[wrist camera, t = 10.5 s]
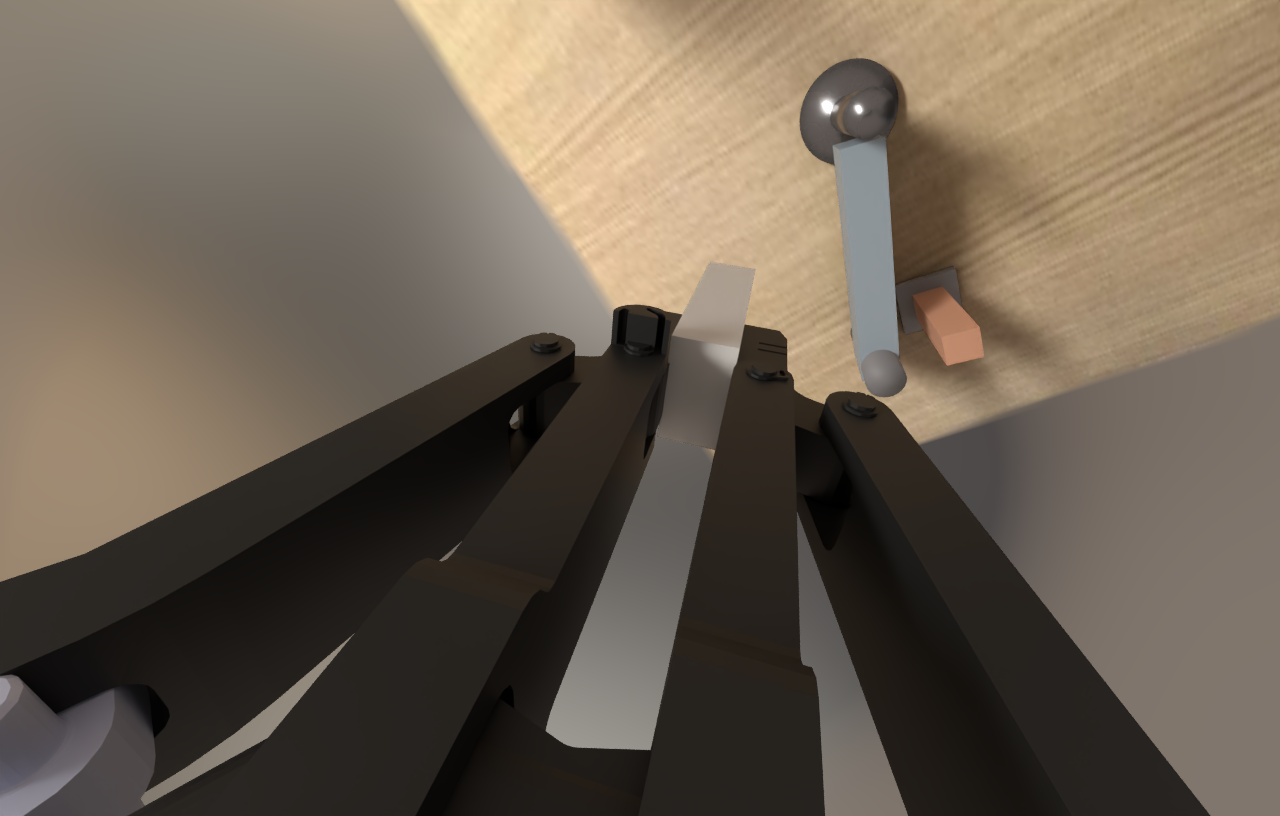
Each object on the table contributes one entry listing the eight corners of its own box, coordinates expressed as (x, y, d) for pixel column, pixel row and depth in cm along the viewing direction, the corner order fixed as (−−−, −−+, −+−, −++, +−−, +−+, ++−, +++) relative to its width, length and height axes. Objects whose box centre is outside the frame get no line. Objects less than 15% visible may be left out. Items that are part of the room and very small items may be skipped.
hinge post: (885, 39, 31) (928, 7, 22) (904, 140, 33) (950, 149, 24) (789, 87, 33) (790, 77, 24) (812, 178, 36) (822, 200, 26)
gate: (830, 144, 34) (843, 152, 27) (868, 132, 33) (893, 138, 26) (852, 346, 41) (867, 399, 33) (884, 341, 40) (907, 394, 32)
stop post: (953, 266, 36) (997, 306, 29) (961, 316, 38) (1005, 366, 30) (893, 285, 38) (920, 327, 30) (903, 332, 39) (931, 383, 32)
